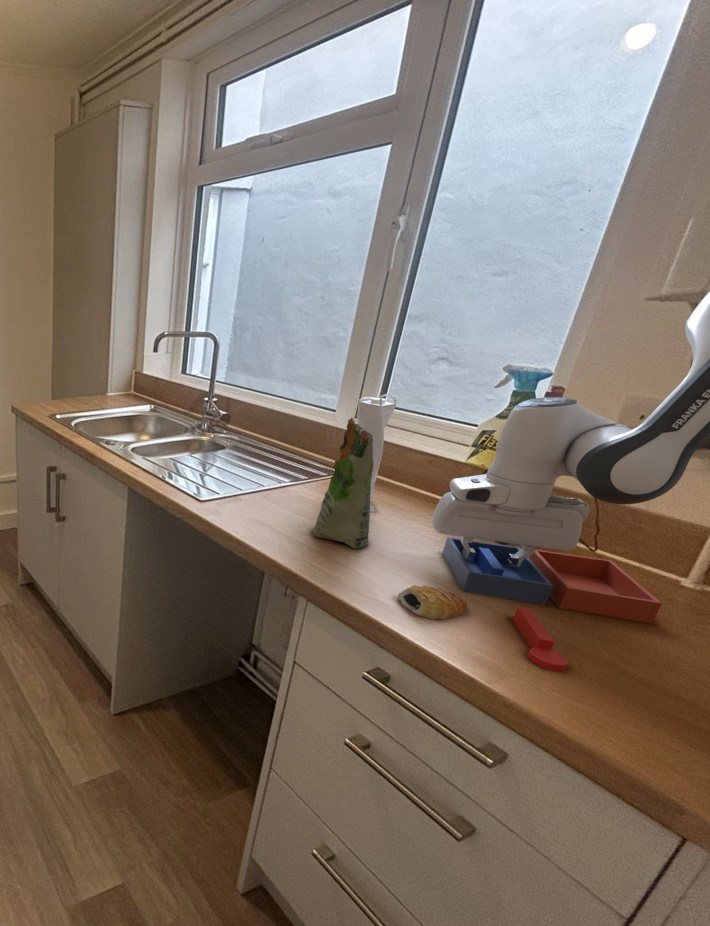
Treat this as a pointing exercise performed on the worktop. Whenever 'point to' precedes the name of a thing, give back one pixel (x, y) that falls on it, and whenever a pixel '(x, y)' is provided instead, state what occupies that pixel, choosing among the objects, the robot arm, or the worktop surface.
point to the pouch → (349, 491)
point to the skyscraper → (375, 428)
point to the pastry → (432, 602)
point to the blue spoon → (488, 562)
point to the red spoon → (538, 641)
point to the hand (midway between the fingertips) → (489, 561)
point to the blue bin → (511, 585)
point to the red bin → (595, 586)
